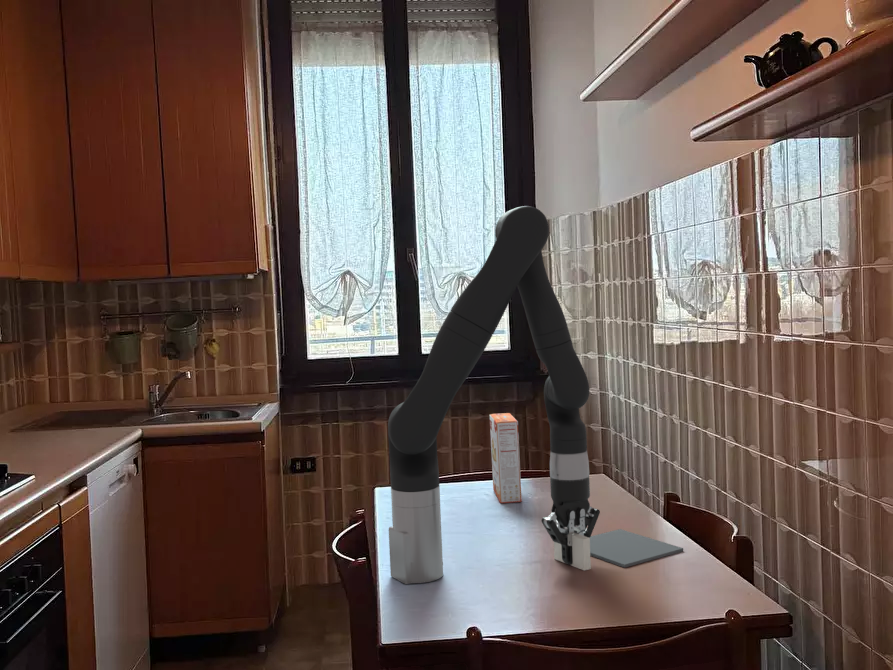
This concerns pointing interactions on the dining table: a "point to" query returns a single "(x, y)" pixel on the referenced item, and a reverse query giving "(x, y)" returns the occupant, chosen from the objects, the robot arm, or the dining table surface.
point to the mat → (628, 548)
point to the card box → (576, 552)
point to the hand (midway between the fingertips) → (572, 562)
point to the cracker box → (505, 457)
